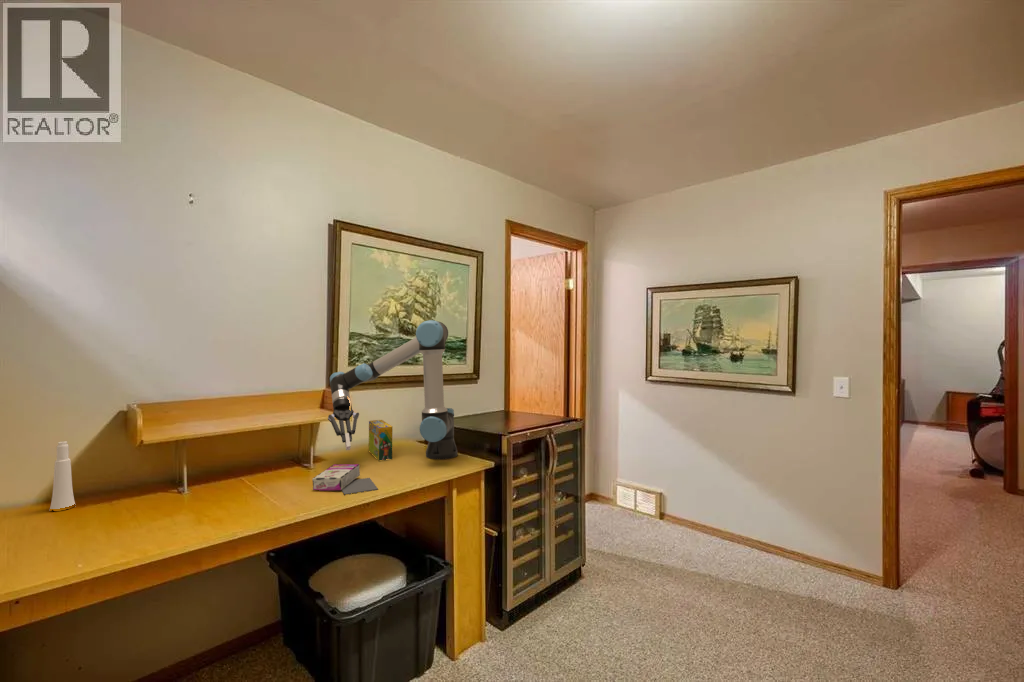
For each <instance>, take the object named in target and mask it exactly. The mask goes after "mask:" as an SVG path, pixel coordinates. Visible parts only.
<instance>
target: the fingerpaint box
mask: <svg viewBox="0 0 1024 682" xmlns="http://www.w3.org/2000/svg"><path fill="white" fill-rule="evenodd" d="M369 451H370V452H371V453H372V454H373V455H374V456H375V457H376V458H377V459H378V460H384V461H387V460H386V459H391V460H393V425H392V424H391V425H390V424H389V423H388V422H386V421H384V420H383V419H373V420H369V421H368V452H369ZM370 452H369V453H370ZM371 453H370V454H371ZM372 454H371V455H372ZM373 455H372V456H373ZM374 456H373V457H374ZM375 457H374V458H375ZM376 458H375V459H376ZM377 459H376V460H377ZM378 460H377V461H378Z"/></svg>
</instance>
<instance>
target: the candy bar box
mask: <svg viewBox="0 0 1024 682" xmlns="http://www.w3.org/2000/svg"><path fill="white" fill-rule="evenodd" d="M360 476H361V472H360V464H359V463H357V464H356V463H355V464H353V463H352V464H351V463H350V464H346V463H345V464H343V463H342V464H341V463H340V464H332V465H331V466H329V467H328V468H326V469H325V470H324V471H321V472H320V473H318V474H317V475H316V476H314V477H313V478H311V479H312V491H313V490H319V491H342V489H343V488H344V487H346V486H347V485H348V484H349V483H351V482H352V481H353V480H357V478H358V477H360Z"/></svg>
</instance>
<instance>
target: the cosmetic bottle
mask: <svg viewBox="0 0 1024 682" xmlns="http://www.w3.org/2000/svg"><path fill="white" fill-rule="evenodd" d="M53 470H54V471H53V484H52V485H53V486H52V496H51V503H50V507H49V510H50V509H60V508H65V507H69V506H72V505H74V504H75V505H76V502H75V501H76V500H75V497H74V490H73V488H74V487H73V477H72V476H73V475H72V474H73V473H72V461H71V458H69V444H68V441H65V440H64V441H59V442H57V444H56V459H55V461H54V467H53Z"/></svg>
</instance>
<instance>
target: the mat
mask: <svg viewBox="0 0 1024 682" xmlns="http://www.w3.org/2000/svg"><path fill="white" fill-rule="evenodd" d="M372 490H373V491H377V490H379V487H377V485H376V484H375V483H374V481H373V480H372V479H371V478H370V477H365V478H359V479H357V478H356V479H354V480H353V481H352V482H351V483H349V484H348V485H347V486H346V487H344V488H343V489H342V490H341V492H342V494H343V493H344V494H343V496H346V495H345V494H349V495H352V494H351V493H355V494H358V493H357V492H361V493H365V492H364V491H367V492H371V491H372Z"/></svg>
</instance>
